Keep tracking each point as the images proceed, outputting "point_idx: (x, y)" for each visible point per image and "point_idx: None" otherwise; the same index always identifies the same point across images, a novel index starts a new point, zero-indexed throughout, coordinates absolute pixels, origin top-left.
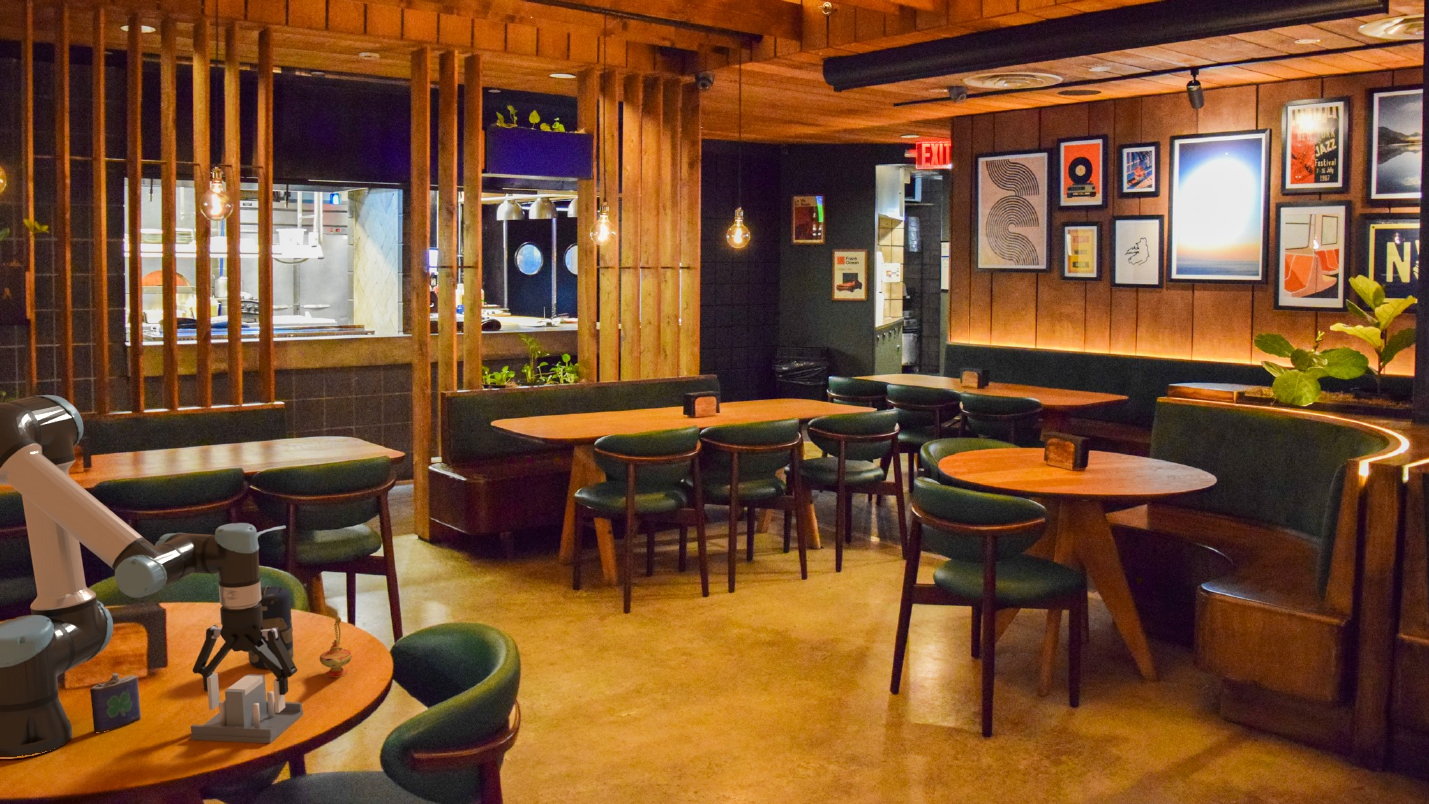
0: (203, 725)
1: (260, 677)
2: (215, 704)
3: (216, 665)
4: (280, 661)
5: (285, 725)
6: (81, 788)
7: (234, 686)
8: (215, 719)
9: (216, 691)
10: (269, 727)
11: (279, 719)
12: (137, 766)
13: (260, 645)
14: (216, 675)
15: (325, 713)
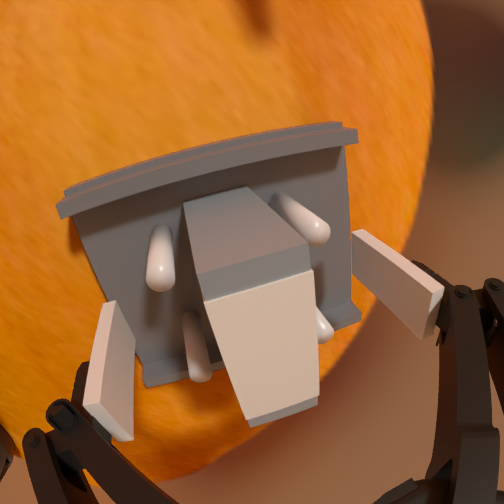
0: (174, 375)
1: (312, 288)
2: (126, 330)
3: (138, 471)
4: (497, 374)
5: (349, 237)
6: (161, 477)
7: (258, 401)
8: (118, 288)
9: (116, 353)
10: (318, 267)
11: (315, 212)
12: (165, 443)
13: (464, 461)
14: (107, 404)
15: (383, 101)
